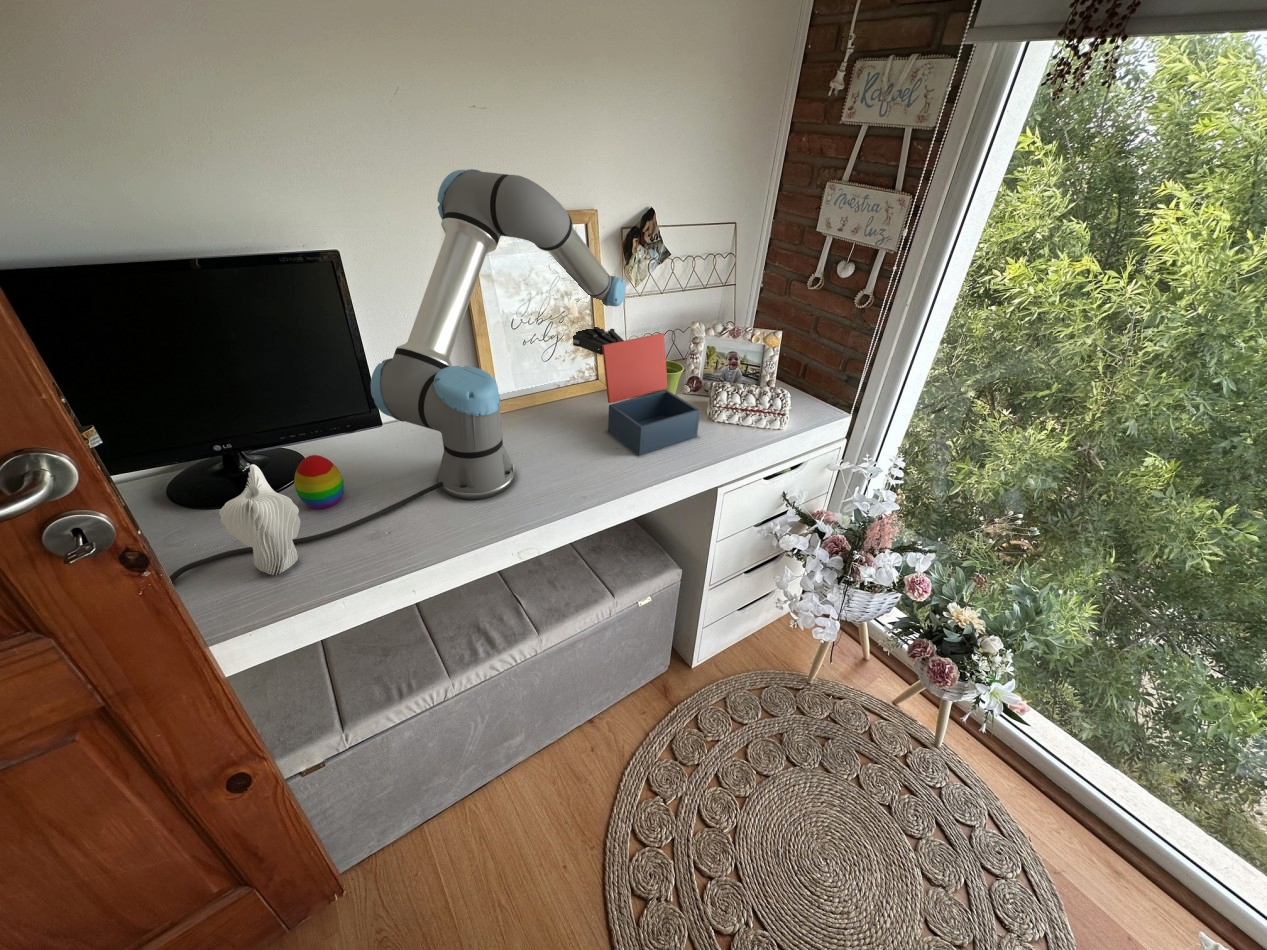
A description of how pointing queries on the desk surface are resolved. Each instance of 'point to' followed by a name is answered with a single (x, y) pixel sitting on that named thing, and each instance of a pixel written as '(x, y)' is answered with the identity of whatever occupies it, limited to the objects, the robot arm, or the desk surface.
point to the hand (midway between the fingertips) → (629, 357)
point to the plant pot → (672, 375)
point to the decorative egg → (318, 482)
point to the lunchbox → (653, 421)
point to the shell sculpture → (264, 523)
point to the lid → (635, 367)
